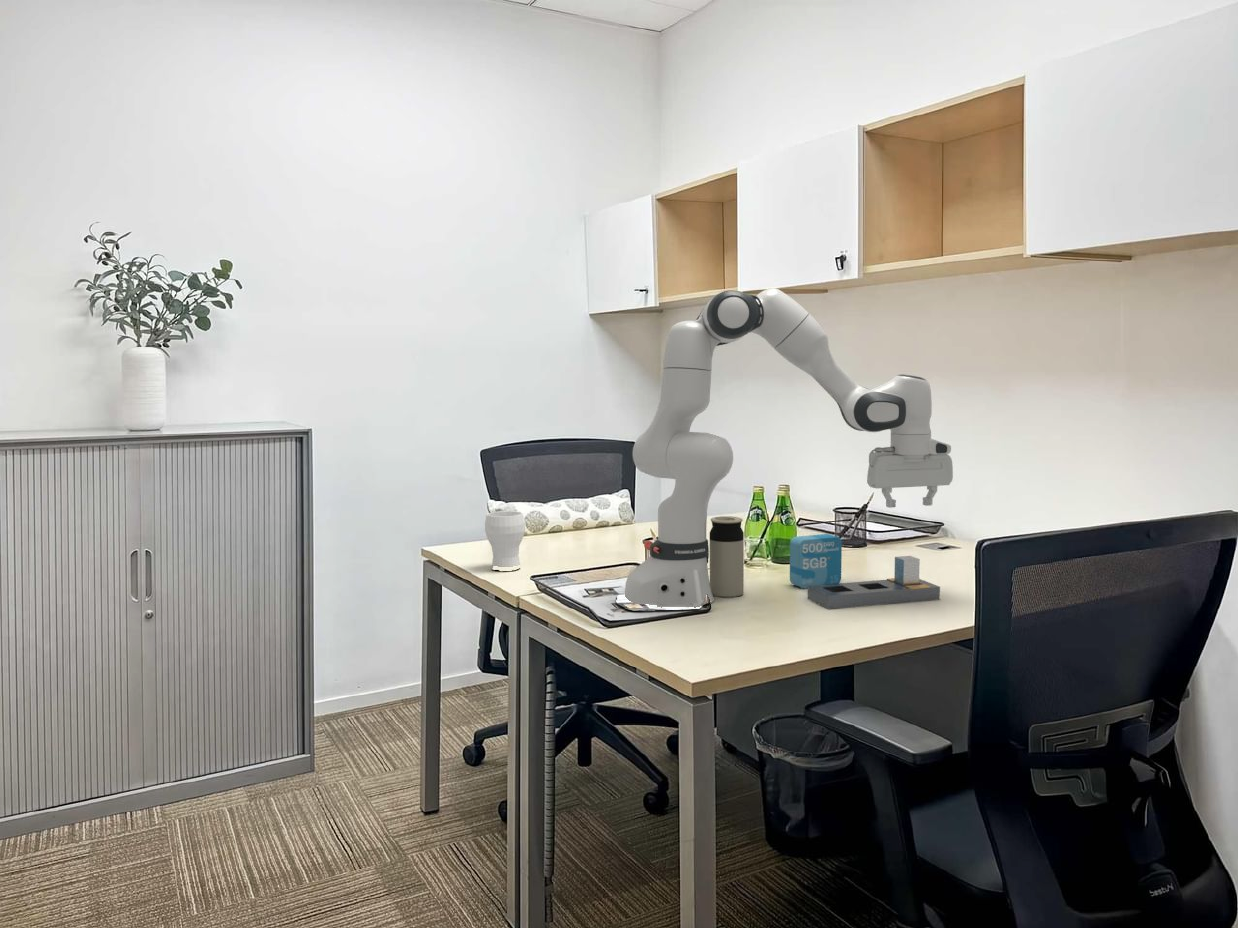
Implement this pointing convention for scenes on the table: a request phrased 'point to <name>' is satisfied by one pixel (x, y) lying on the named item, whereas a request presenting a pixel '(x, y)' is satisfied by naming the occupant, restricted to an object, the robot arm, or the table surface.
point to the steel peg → (906, 570)
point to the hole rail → (871, 593)
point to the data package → (815, 560)
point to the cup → (505, 536)
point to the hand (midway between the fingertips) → (909, 506)
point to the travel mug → (726, 557)
